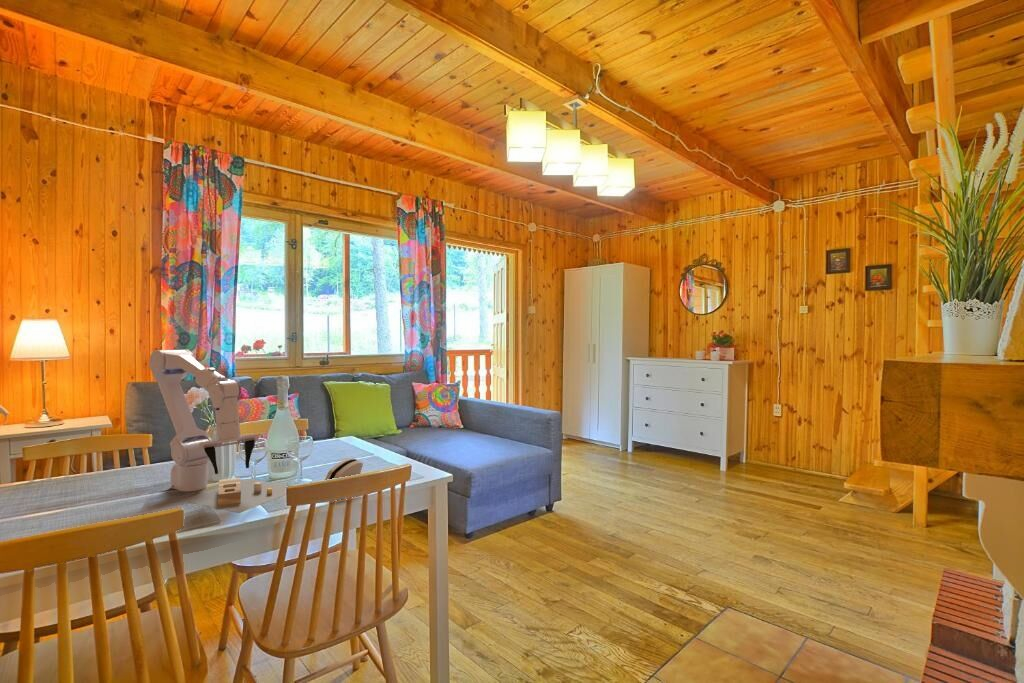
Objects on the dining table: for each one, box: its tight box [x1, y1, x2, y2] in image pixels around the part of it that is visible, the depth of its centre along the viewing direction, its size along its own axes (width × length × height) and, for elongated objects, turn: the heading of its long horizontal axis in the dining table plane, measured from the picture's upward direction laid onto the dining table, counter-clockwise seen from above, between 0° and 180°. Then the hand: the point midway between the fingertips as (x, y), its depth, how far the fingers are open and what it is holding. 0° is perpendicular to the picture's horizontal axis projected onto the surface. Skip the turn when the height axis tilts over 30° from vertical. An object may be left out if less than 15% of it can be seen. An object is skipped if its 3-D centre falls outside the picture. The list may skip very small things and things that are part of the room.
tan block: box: [218, 477, 241, 505], centre depth 141 cm, size 14×5×3 cm, turn 29°
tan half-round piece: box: [324, 457, 364, 481], centre depth 156 cm, size 17×5×10 cm, turn 168°
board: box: [179, 478, 288, 514], centre depth 143 cm, size 22×22×4 cm
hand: (232, 470), depth 141 cm, fingers open, 7 cm apart
